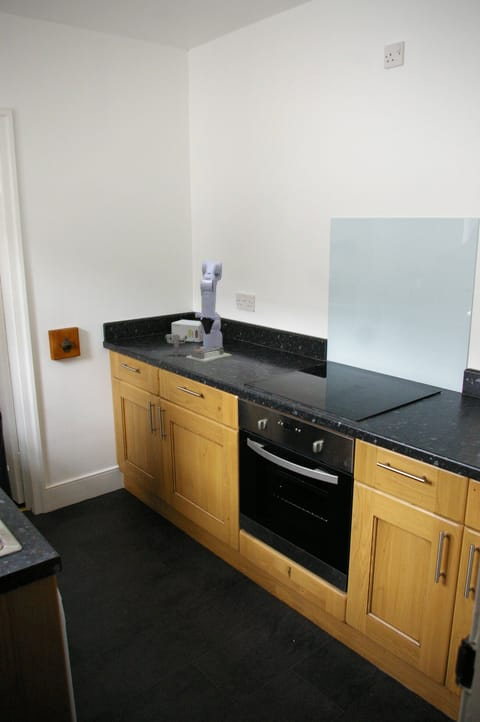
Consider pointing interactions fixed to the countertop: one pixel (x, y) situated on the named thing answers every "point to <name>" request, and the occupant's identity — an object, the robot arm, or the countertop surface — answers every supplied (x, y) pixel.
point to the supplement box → (188, 330)
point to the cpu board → (208, 355)
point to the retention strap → (207, 349)
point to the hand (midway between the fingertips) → (207, 333)
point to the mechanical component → (175, 341)
